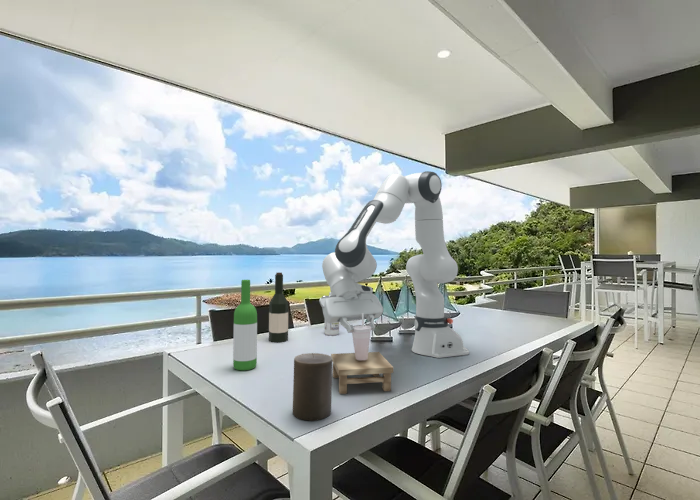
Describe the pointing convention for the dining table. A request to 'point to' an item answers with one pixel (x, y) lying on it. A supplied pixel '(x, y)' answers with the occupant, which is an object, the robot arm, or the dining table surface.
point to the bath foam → (331, 327)
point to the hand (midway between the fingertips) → (362, 330)
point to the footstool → (361, 370)
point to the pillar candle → (312, 386)
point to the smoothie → (361, 340)
